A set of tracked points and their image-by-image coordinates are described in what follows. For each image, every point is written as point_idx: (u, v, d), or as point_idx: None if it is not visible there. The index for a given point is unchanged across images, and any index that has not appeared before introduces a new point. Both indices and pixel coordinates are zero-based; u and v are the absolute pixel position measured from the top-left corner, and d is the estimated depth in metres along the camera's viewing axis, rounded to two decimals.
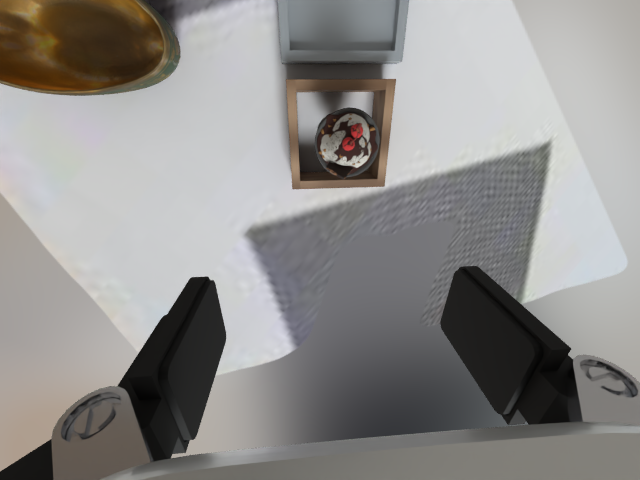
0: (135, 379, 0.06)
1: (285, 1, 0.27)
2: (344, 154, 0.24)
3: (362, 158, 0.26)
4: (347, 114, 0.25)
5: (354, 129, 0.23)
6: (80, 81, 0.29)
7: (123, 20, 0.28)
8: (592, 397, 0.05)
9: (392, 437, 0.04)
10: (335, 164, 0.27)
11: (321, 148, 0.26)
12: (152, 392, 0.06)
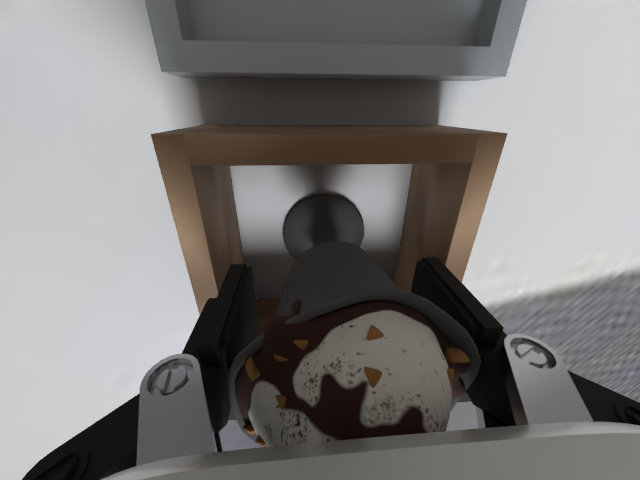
0: (202, 347, 0.06)
1: None
2: None
3: None
4: (358, 323, 0.05)
5: None
6: None
7: None
8: (525, 376, 0.06)
9: (392, 437, 0.04)
10: None
11: (251, 422, 0.07)
12: (215, 360, 0.07)
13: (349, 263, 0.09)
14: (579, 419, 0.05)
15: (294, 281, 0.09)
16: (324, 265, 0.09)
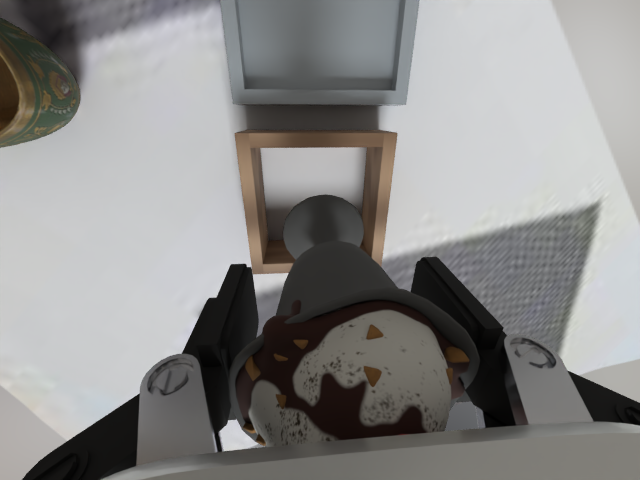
0: (202, 347, 0.06)
1: (234, 21, 0.18)
2: None
3: None
4: (358, 323, 0.06)
5: None
6: None
7: None
8: (525, 376, 0.06)
9: (392, 437, 0.04)
10: None
11: (252, 421, 0.07)
12: (215, 360, 0.07)
13: (349, 263, 0.09)
14: (579, 419, 0.05)
15: (294, 281, 0.09)
16: (324, 265, 0.09)
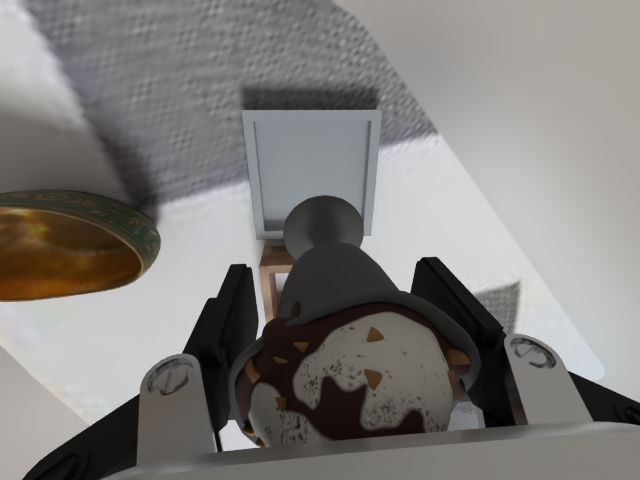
0: (203, 347, 0.06)
1: (259, 197, 0.29)
2: None
3: None
4: (358, 325, 0.05)
5: None
6: (68, 258, 0.31)
7: None
8: (525, 376, 0.06)
9: (392, 437, 0.04)
10: None
11: (251, 424, 0.07)
12: (215, 360, 0.07)
13: (349, 264, 0.09)
14: (579, 419, 0.05)
15: (294, 282, 0.09)
16: (324, 266, 0.09)
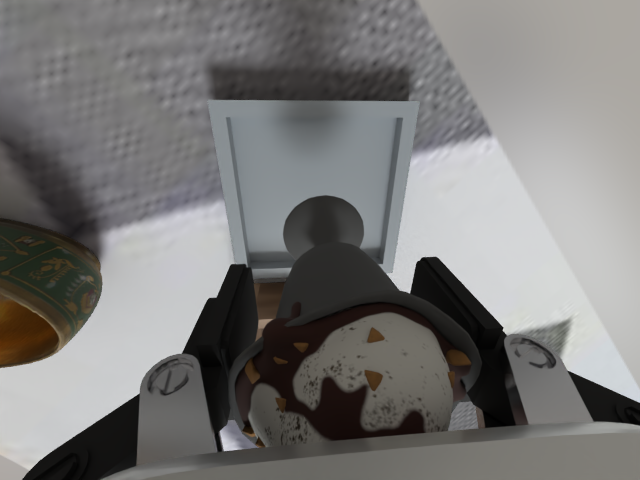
0: (202, 347, 0.06)
1: (239, 225, 0.21)
2: None
3: None
4: (358, 326, 0.05)
5: None
6: None
7: None
8: (525, 376, 0.06)
9: (392, 437, 0.04)
10: None
11: (251, 425, 0.07)
12: (215, 360, 0.07)
13: (349, 264, 0.08)
14: (579, 419, 0.05)
15: (294, 282, 0.09)
16: (324, 266, 0.09)
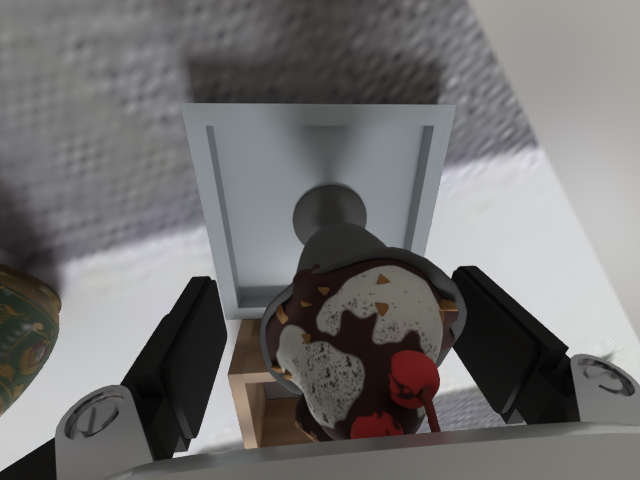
0: (137, 378, 0.06)
1: (226, 258, 0.17)
2: None
3: None
4: (369, 273, 0.07)
5: (406, 392, 0.05)
6: None
7: None
8: (590, 396, 0.05)
9: (392, 437, 0.04)
10: None
11: (279, 361, 0.08)
12: (154, 391, 0.06)
13: (358, 237, 0.10)
14: None
15: (310, 253, 0.10)
16: (336, 239, 0.10)
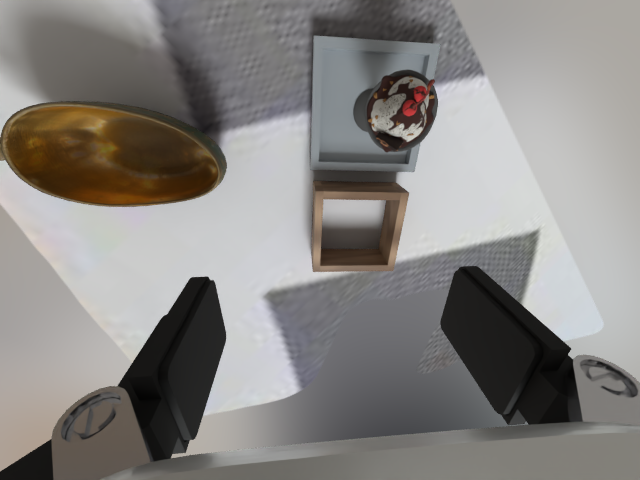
0: (135, 379, 0.06)
1: (318, 126, 0.32)
2: (402, 121, 0.21)
3: (417, 130, 0.23)
4: (406, 77, 0.22)
5: (418, 91, 0.20)
6: (133, 179, 0.33)
7: (176, 133, 0.32)
8: (592, 397, 0.05)
9: (392, 437, 0.04)
10: (386, 135, 0.23)
11: (372, 115, 0.23)
12: (152, 392, 0.06)
13: None
14: None
15: None
16: None
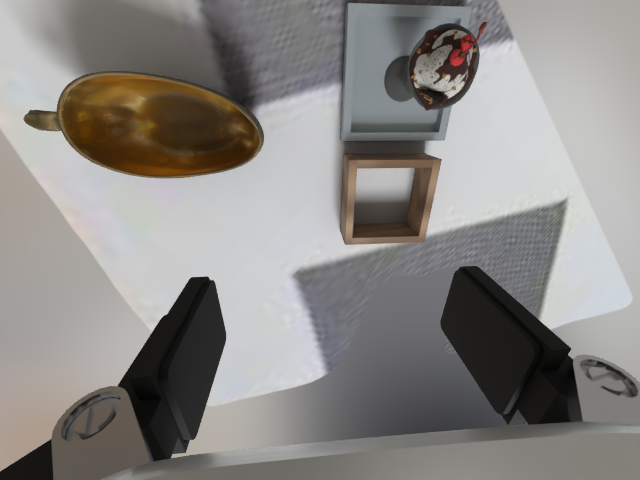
0: (135, 379, 0.06)
1: (351, 96, 0.32)
2: (449, 71, 0.22)
3: (459, 84, 0.24)
4: (449, 30, 0.22)
5: (466, 39, 0.21)
6: (170, 156, 0.34)
7: (212, 108, 0.33)
8: (592, 397, 0.05)
9: (392, 437, 0.04)
10: (428, 90, 0.24)
11: (415, 71, 0.23)
12: (152, 392, 0.06)
13: None
14: None
15: None
16: None
